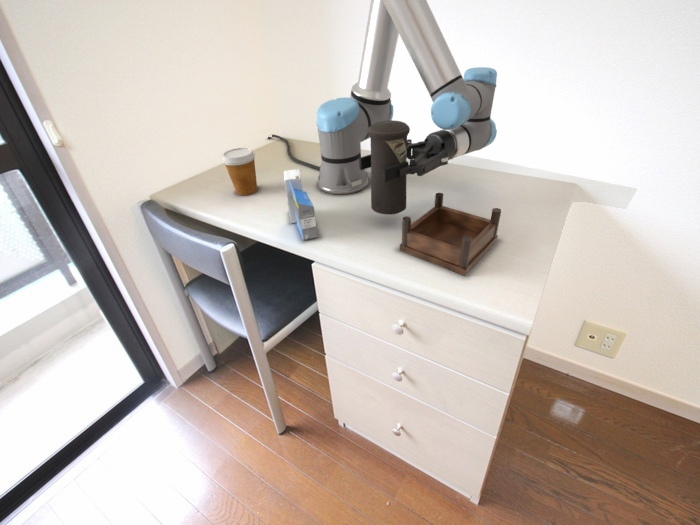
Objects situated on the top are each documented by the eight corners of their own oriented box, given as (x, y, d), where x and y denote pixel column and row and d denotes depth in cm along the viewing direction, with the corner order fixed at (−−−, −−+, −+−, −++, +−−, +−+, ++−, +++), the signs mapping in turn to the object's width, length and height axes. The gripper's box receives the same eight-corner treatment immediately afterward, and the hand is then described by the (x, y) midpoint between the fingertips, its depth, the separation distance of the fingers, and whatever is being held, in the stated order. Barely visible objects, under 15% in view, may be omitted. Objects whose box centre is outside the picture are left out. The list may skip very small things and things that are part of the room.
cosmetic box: (289, 212, 100) (282, 170, 93) (306, 210, 100) (299, 168, 93) (290, 224, 95) (282, 180, 88) (307, 221, 95) (301, 177, 88)
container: (405, 216, 86) (408, 129, 74) (367, 215, 87) (364, 129, 76) (408, 199, 92) (411, 117, 81) (372, 198, 94) (370, 117, 82)
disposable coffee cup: (267, 184, 116) (259, 147, 109) (254, 198, 108) (245, 159, 101) (239, 183, 118) (230, 146, 111) (225, 197, 110) (214, 158, 103)
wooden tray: (399, 250, 82) (399, 219, 77) (435, 221, 91) (437, 191, 86) (464, 276, 73) (469, 242, 69) (497, 241, 82) (503, 209, 78)
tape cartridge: (318, 237, 88) (312, 190, 81) (302, 241, 88) (294, 193, 80) (311, 220, 95) (304, 175, 88) (296, 223, 95) (288, 178, 87)
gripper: (476, 172, 86) (402, 201, 76) (415, 149, 100) (346, 171, 91) (481, 140, 82) (403, 167, 72) (417, 121, 96) (344, 141, 86)
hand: (371, 169), depth 81 cm, fingers closed on container, 8 cm apart
